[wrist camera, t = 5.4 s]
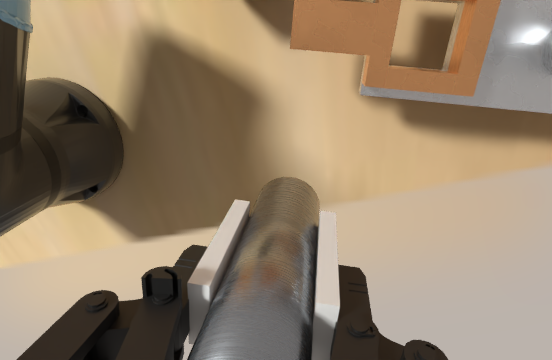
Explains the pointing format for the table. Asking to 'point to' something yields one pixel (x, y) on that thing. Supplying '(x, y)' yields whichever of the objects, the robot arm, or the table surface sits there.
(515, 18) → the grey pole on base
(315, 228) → the pin
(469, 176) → the table surface
